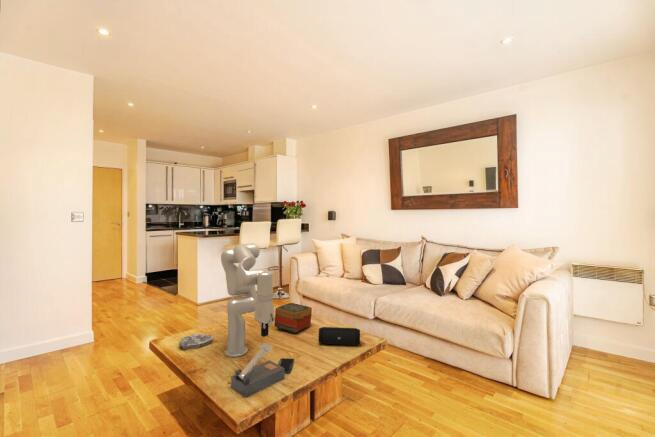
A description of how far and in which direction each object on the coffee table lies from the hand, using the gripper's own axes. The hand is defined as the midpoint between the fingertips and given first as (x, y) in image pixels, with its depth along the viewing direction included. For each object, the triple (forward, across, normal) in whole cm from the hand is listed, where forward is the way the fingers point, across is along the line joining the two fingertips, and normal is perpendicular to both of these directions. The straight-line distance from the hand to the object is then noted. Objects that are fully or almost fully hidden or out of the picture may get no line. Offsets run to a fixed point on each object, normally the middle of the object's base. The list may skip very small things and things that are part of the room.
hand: (264, 335), depth 148 cm
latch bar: (+11, -1, -5) cm, 12 cm away
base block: (+22, -1, -3) cm, 22 cm away
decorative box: (+21, -42, +55) cm, 72 cm away
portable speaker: (+22, -2, +58) cm, 62 cm away
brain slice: (+21, -66, -4) cm, 69 cm away
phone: (+22, -4, +16) cm, 28 cm away
